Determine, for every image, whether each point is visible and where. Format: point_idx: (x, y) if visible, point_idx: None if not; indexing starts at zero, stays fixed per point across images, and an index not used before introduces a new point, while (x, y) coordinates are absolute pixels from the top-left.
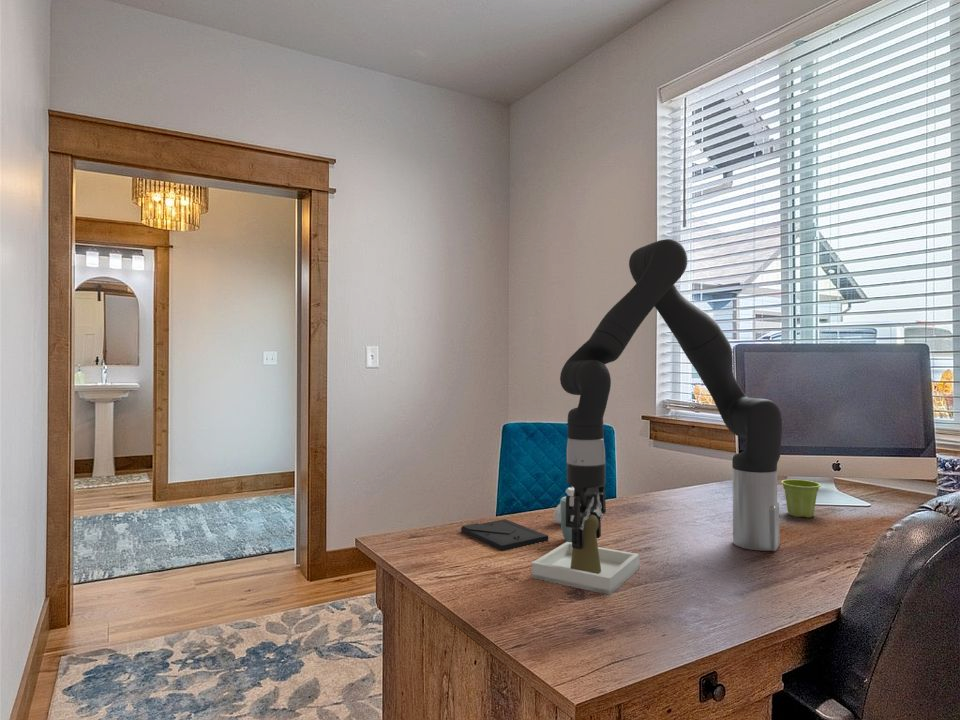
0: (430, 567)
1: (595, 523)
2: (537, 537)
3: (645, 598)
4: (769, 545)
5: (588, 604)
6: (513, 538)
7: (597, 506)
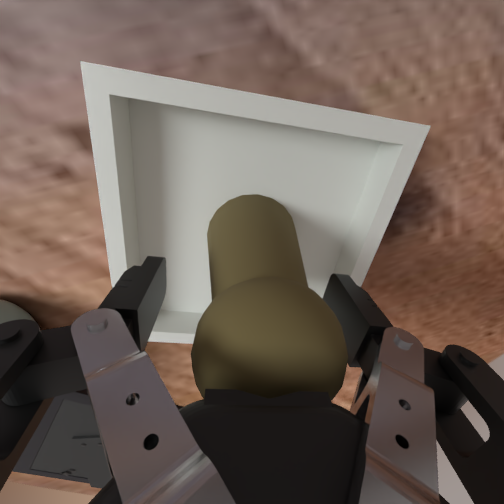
0: None
1: (310, 305)
2: (83, 396)
3: None
4: None
5: (464, 168)
6: None
7: (177, 411)
